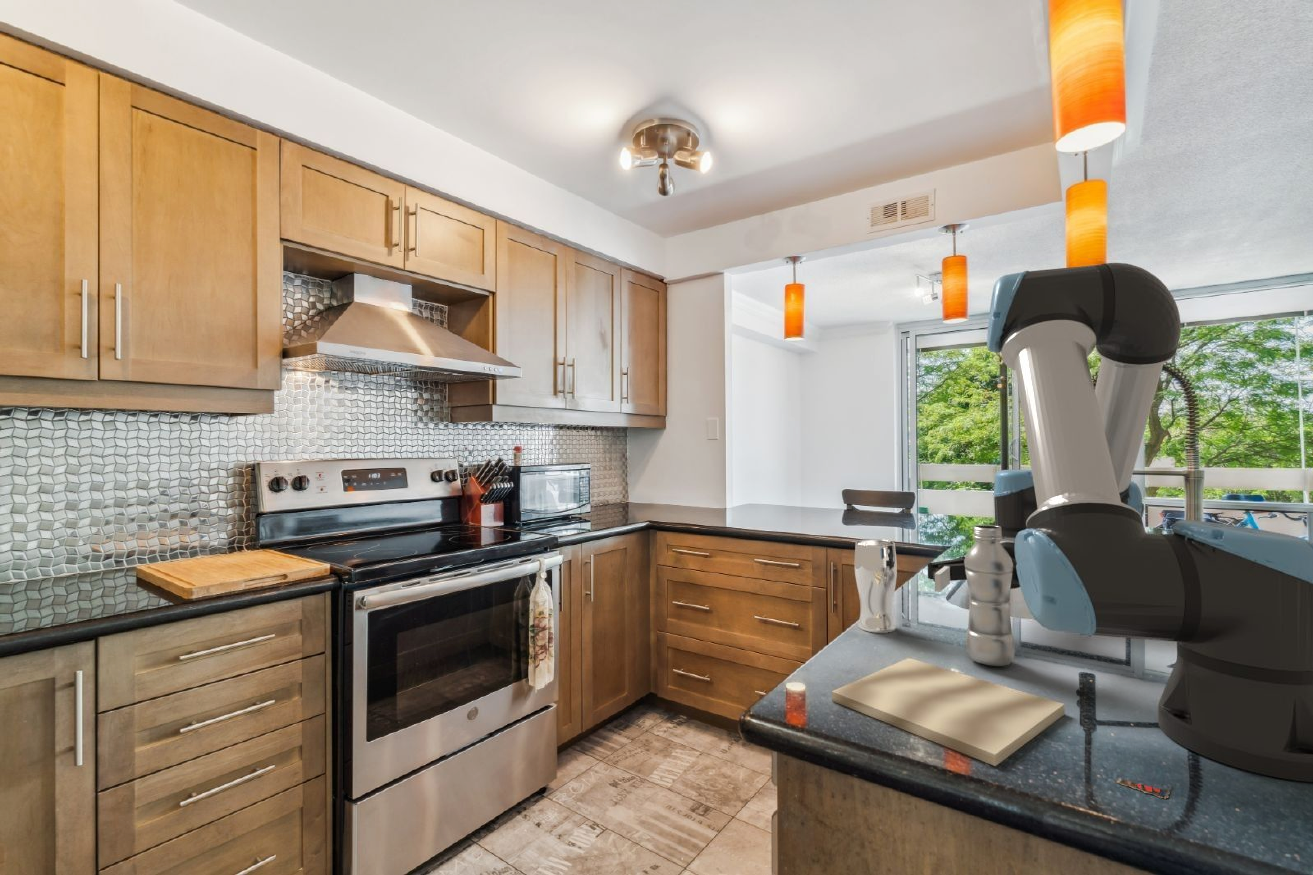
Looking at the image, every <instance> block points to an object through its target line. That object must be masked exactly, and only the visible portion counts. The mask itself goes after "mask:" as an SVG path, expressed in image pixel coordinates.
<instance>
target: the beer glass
mask: <svg viewBox="0 0 1313 875" xmlns="http://www.w3.org/2000/svg"><path fill="white" fill-rule="evenodd" d="M854 546H855V547H854V548H855V549H854V576H855V582H856V587H857V591H858V597H859V602H860V614H859V620H858V628H860V630H862V631H865V632H868V633H874V634H889V633H888V632H890V633H893V632H895V631H896V624H895V620H894V615H893V614H894V613H893V606H894V605H893V602H894V596H895V592H896V585H897V578H898V577H897V576H898V572H897V571H898V564H897V562H898V561H897V553H896V552H897V551H896V543H895V542H894V541H892V540H889V539H887V540H886V539H877V538H867V539H866V538H865V539H858V540H856V541H855V545H854Z"/></svg>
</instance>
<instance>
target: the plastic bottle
mask: <svg viewBox="0 0 1313 875" xmlns="http://www.w3.org/2000/svg"><path fill="white" fill-rule="evenodd" d="M972 536H973V537H972V538H973V540H975V541H974V542H975V543H974V544H973V545H972V546H971V547H970V549H969V550H968V551H967V553H966V554H965V556H964V557H965V560H964V564H965V568H966V569H965V571H966V577H967V580H966V581H967V590H968V591H967V592H968V597H969V600H968V602H969V605H968V606H969V609H968V610H969V611H968V624H967V629H966V635H965V647H966V652H967V654H968V656H969V657H970V658H971V660H972V661H974V662H977V663H979V664H981V665H985V666H991V667H1006V666H1009V665H1010V664H1011V663H1012V662H1014V661H1013V660H1014V659H1015V654H1016V649H1017V648H1016V642H1015V637H1014V634H1013V629H1012V621H1011V610H1010V609H1011V608H1010V607H1011V605H1010V601H1011V589H1010V588H1011V580H1012V571H1013V562H1012V559H1011V557H1010V556H1009V554H1008V553H1007V551H1006V550H1005V549H1004V548H1003V546H1002V545H1001V543H1000V541H1001V540H1003V538H1002V529H1001V527H999V526H995V525H991V524H978V525H974V526H973V535H972Z"/></svg>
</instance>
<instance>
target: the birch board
mask: <svg viewBox="0 0 1313 875" xmlns="http://www.w3.org/2000/svg"><path fill="white" fill-rule="evenodd" d="M831 702H833V703H836V704H839V705H842V706H844V707H847V708H850V709H851V710H854V711H857V712H859V713H862V714H864V715H867V716H870V717H871V718H874V719H877V720H879V721H880V722H881V721H882V722H883V723H887V724H889V725H892V726H894V727H896V728H899V729H902V730H904V731H906V732H909V733H912V734H914V735H916V736H919V737H921V738H924V739H926V740H929V741H931V742H934V743H935V744H936V743H937V744H938V745H942V746H943V747H946V748H949V749H952V750H954V751H957V752H958V753H961V754H963V755H966V756H969V757H971V758H973V759H976V760H978V761H981V762H983V763H986V764H988V765H991V766H994V767H997V766H998V765H999V764H1001V763H1002V762H1004V760H1006V759H1007V758H1008V757H1009V756H1011V755H1012V754H1014V753H1015V752H1016V751H1018V750H1019V749H1021V747H1023V746H1024V745H1026V744H1027V743H1028V742H1030V741H1031V740H1032V739H1034V738H1035V737H1036V736H1038V735H1039V734H1040V733H1042V732H1043V731H1044V730H1046V729H1047V728H1049V727H1050V726H1051V725H1052V724H1054V723H1055V722H1056V721H1058V720H1059V719H1060V718H1062V717H1063V716H1065V703H1062V702H1059V701H1055V700H1052V699H1048V698H1045V697H1041V696H1039V695H1035V694H1031V693H1029V692H1024V691H1020V690H1018V689H1014V688H1011V687H1009V686H1005V685H1002V684H998V683H996V682H995V683H994V682H991V681H987V680H985V679H980V678H977V677H974V676H970V675H967V674H964V673H960V672H957V671H954V670H951V669H948V668H944V667H940V666H938V665H937V666H936V665H934V664H930V663H928V662H924V661H920V660H917V659H914V658H911V657H908V658H906V659H903V660H901V661H898V662H895V663H893V664H892V665H889V666H887V667H885V668H882V669H880V670H878V671H876V672H873V673H870V674H869V675H866V676H864V677H862V678H860V679H857V680H855V681H853V682H851V683H847V684H846V685H843V686H840V687H839V688H836V689H834V690H832V691H831Z"/></svg>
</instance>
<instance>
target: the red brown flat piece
mask: <svg viewBox="0 0 1313 875" xmlns="http://www.w3.org/2000/svg"><path fill="white" fill-rule="evenodd" d="M1121 777H1122V776H1121ZM1121 777H1119V778H1118V779H1117V780H1116V783H1117V784H1120V785H1121V786H1122V785H1123V786H1125V787H1130V788H1132V789H1135V790H1138V791H1141V792H1143V793H1144V794H1146V793H1147V794H1150V795H1154V796H1155V797H1158V798H1160V799H1169V795H1171V793H1170V792H1171V790H1172V789H1173V785H1171V786H1170V787H1169V788H1168V789H1165V788H1164V789H1163V788H1158V787H1154V786H1149V785H1144V784H1141V783H1137V782H1133V781H1128V780H1126V779H1122V778H1123V777H1122V778H1121ZM1162 778H1163V779H1166V778H1165V777H1164V776H1163V777H1162Z"/></svg>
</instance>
